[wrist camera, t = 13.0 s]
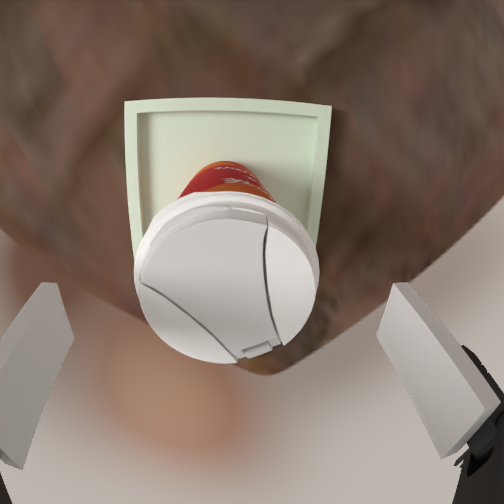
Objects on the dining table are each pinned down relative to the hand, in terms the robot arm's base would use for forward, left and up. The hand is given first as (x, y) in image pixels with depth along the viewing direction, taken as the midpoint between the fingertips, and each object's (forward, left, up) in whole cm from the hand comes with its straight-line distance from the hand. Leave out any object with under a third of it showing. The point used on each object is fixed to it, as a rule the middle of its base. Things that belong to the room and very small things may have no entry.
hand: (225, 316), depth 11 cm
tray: (0, 0, -17) cm, 17 cm away
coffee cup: (0, 0, -16) cm, 16 cm away
